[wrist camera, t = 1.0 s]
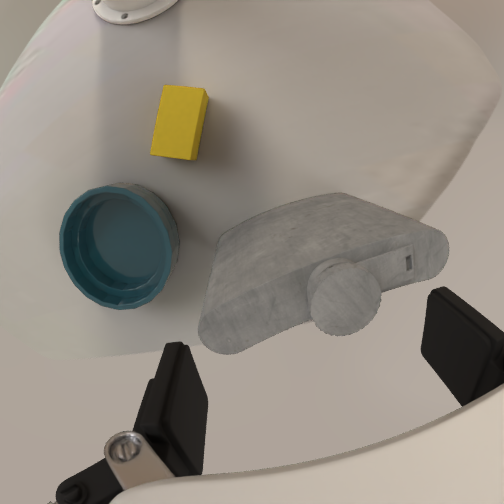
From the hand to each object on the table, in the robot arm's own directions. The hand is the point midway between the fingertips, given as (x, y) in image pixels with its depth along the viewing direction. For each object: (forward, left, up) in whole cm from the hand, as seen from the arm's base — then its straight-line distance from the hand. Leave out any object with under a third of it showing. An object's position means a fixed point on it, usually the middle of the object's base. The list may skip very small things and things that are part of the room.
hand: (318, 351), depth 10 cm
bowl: (+5, -15, -23) cm, 28 cm away
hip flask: (0, +2, -23) cm, 23 cm away
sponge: (-9, -10, -23) cm, 27 cm away
